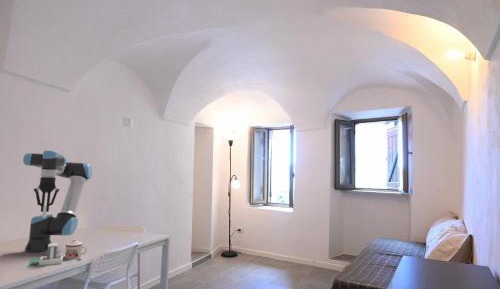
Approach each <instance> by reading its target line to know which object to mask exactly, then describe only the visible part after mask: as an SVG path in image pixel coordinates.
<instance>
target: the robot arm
mask: <svg viewBox="0 0 500 289" xmlns="http://www.w3.org/2000/svg"><path fill="white" fill-rule="evenodd" d="M22 163H23V164H24V165H25V166H29V167H31V166H34V167H35V168H36V167H37V168H39V169H41V171H40V176H41V177H40V178H39V179H40V180H39V184H38V187H35V188H34V189H33V191H34V192H35V197H36V204H37V205H38V206H40V212H42V214H41V215H36V216H33V217H31V219H30V224H29V225H30V228H29V237H28V241H27V243H26V245H25V248H24V253H44V252H48V245H49V244H52V241H51V236H63V237H64V236H71V235H73V234H74V233H75V232H76V230H77V228H78V223H79V220H78V218H77V215H76V210H77V207H78V206H79V205H78V204H79V201H80V197H81V194H82V190H83V187H84V184H86V183H87V182H88V180H90V179H92V176H93V171H92V170H93V168H92V165H91V164H90V163H85V162H71V161H70V162H68V159H67V157H66V156H65V155H62V154H59V152H58V151H57V150H44V151H43V152H42V153H31V152H29V153H25V155H23V162H22ZM56 176H58V177H61V178H65V179H69V185H68V187H67V191H66V194H65V198H64V200H63V204H62V207H61V210H60V211H59V212H57V214H56V216H54V215H53V214H47V213H48V212H49V211H50V206H53V204H54V202H55V199H56V198H57V195H58V193H59V191H60V190H61V189H60V188H58V187H57V185H56V180H57V179H56ZM39 191H41V195H42V196H41V199H40V193H39ZM53 191H54V194H53V196H52V199H51V193H52V192H53ZM46 193H47V196H46ZM46 197H47V198H46ZM45 200H46V205H45Z"/></svg>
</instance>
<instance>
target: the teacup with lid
mask: <svg viewBox="0 0 500 289" xmlns="http://www.w3.org/2000/svg"><path fill="white" fill-rule="evenodd" d="M82 248H84V249H85V250H84V252H82V250H83V249H82ZM87 249H88V248H87V247H86V246H83V242H82V241H78V240H77V239H76V238H74V239H72V240H71V241H69V242H67V243H66V244H65V252H64V258H65V259H68V260H69V259H72V260H73V259H76V260H80V259H81V258H82V255H85V254H86V253H87V251H88V250H87Z"/></svg>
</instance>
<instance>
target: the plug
mask: <svg viewBox="0 0 500 289" xmlns="http://www.w3.org/2000/svg"><path fill="white" fill-rule="evenodd" d="M58 245H59V243H51V244H49V245H48V251H46V252H47V254H46V256H47V259H56V257H57V254H58Z"/></svg>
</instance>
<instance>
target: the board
mask: <svg viewBox="0 0 500 289" xmlns="http://www.w3.org/2000/svg"><path fill="white" fill-rule="evenodd" d="M59 255H62V253H61V252H60V253H57V256H59ZM40 258H41V257H31V259H30V260H29V262H28V263H27V266H26V268H33V267H34V268H35V267H47V266H60V265H61V264H49V265H39V260H40Z"/></svg>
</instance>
